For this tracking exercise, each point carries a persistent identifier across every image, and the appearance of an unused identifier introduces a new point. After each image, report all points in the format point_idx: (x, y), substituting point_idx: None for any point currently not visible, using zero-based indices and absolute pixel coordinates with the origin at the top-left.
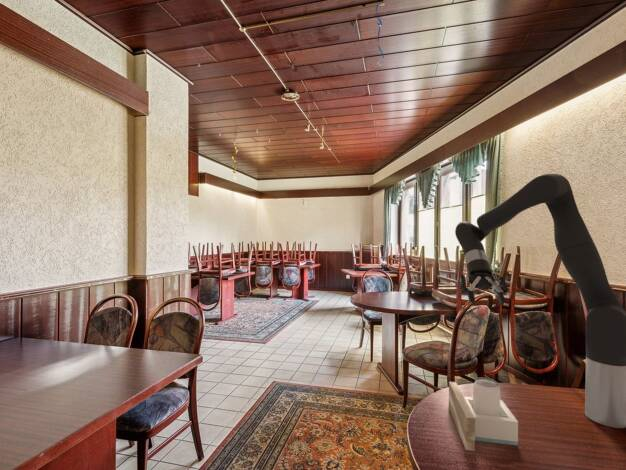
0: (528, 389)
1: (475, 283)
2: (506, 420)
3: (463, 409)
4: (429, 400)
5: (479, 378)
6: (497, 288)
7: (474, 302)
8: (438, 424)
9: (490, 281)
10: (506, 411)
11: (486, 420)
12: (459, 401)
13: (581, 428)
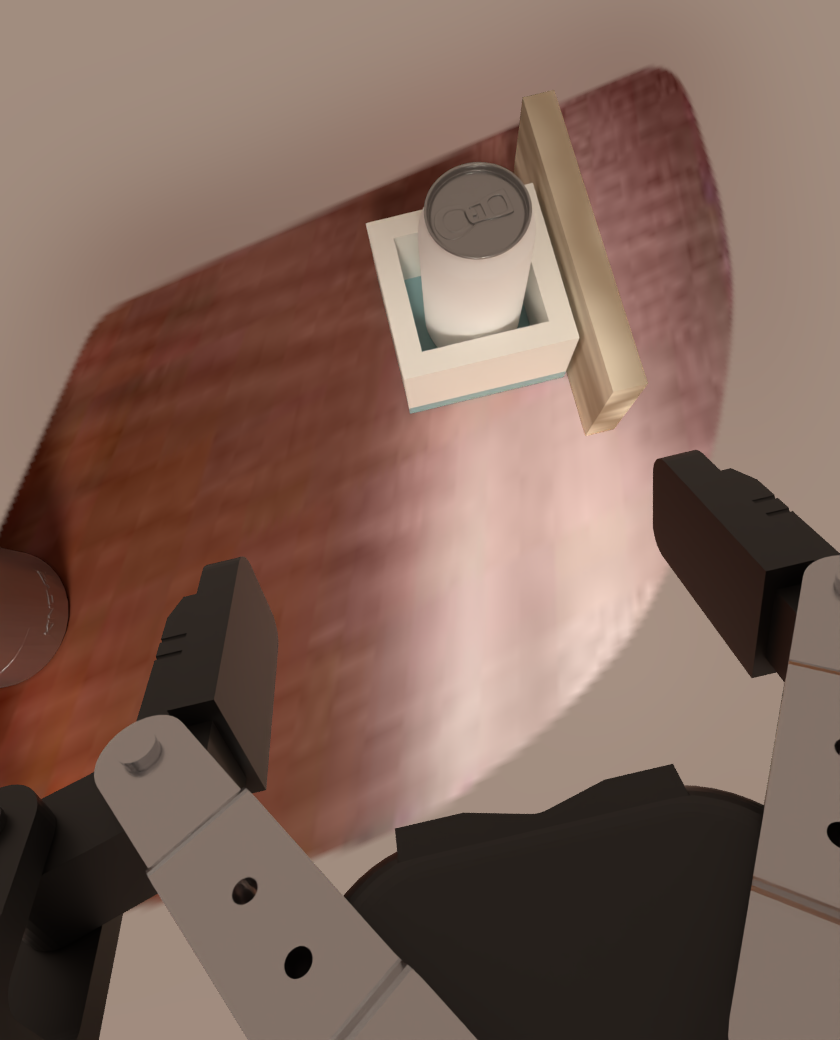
0: None
1: (826, 738)
2: (406, 215)
3: (566, 142)
4: None
5: (509, 247)
6: (196, 794)
7: (655, 489)
8: (638, 285)
9: (330, 979)
10: (397, 284)
11: None
12: (585, 199)
13: (127, 495)
